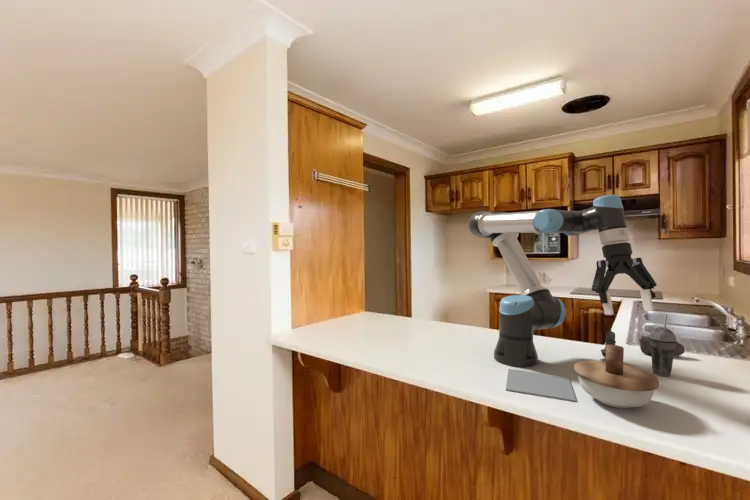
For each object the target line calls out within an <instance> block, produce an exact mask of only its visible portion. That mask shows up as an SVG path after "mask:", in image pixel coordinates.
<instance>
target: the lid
mask: <svg viewBox="0 0 750 500" xmlns="http://www.w3.org/2000/svg"><path fill="white" fill-rule="evenodd" d="M624 349H625V348H624V347H623V346H621V345H616V344H615V345H606V361H602V360H596V359H595V360H592V359H591V360H581V361H578V362H575V364H574V366H573V371H574V373H575V374H576V375H577V376H580V377H582V378H583V379H585V380H588V381H590V382H593V383H596V384H599V385H602V386H606V387H610V388H615V389H621V390H628V391H651V390H658V388H659V387H660V380H659V378H658V377H657V375H655V374H654V373H651V372H648V371H647V370H644V369H642V368H638V367H635V366H633V365H629V364H628V365H627V364H624V360H625V359H624V356H625V355H624V351H625V350H624Z"/></svg>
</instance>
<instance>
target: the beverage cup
mask: <svg viewBox="0 0 750 500" xmlns="http://www.w3.org/2000/svg"><path fill="white" fill-rule="evenodd" d="M667 320H668V314H665V315H664V321H663V322H664V323H663V327H662V326H661V327H660V326H658V327H656V328H653V329H652V330H651V331H650V333H649V335H648V337H649V341H650V345H651V354H650V355H651V367H652V374H653V375H655V376H659V377H662V378H669V377H670V378H671V375H672V370H673V363H674V357H675V356H674V349H675V347H676V343H677V342H678V341H677V337H676V335H675V333H674V331H672V330H670V329H669V328H668V327H667Z"/></svg>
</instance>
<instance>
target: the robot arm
mask: <svg viewBox="0 0 750 500" xmlns="http://www.w3.org/2000/svg"><path fill="white" fill-rule="evenodd" d="M624 209H625V208H624V206H623V203H622V199H621V197H620V196H619V195H617V194H607V195H602V196H599V197H596V198H594V199H593V200H592V206H591V207H589V208H586V209H582V210H567V209H566V210H565V209H564V210H563V209H553V208H546V209H541V210H533V211H532V210H531V211H518V212H505V211H486V210H485V211H484V210H482V211H477V212H475V213H473V214H472V215H471V216H470V218H469V220H468V227H467V228H468V229H469V231H470V233H471V234H472V235H473V236H475V237H477V238H482V239H489V241H490V242H491V244H492V246H494V247H496V248H497V249H498V250H499V252H500V255H501V256H502V258H503V261H504V262H505V265H506V268H507V269H508V270H509V272H510V275H511V276H512V279H513V280H514V283H515V285H516V287H517V289H518V291H519V293H520V294H517V295H515V294H514V295H506V296H504V297H503V298H501V300H500V301H499V307H498V311H499V313H498V314H499V315H498V316H499V317H498V318H499V327H498V329H499V330H498V333H499V334H498V336H499V337H498V340H497V343H496V346H495V348H494V350H493V359H494V360H495V361H496V362H498V363H501V364H504V365H507V366H508V365H509V366H512V367H521V368H523V367H526V368H527V367H534V366H537V365H538V364H539V355H538V352H537V350H536V347H535V343H534V331H536V330H543V329H553V328H556V327H559V326H560V325H561V324H562V323H563V322H564V320H565V317H566V314H567V313H566V312H567V311H566V306H565V303H564V302H563V301H562V300H561V299H560V298H557V297H555V296H553V295H552V293H551V291H550V289H549V288H547V287H544V286H543V285H542V283H541V281H540V279H539V277H538V276H537V274H536V272H535V270H534V268H533V266H532V264H531V262H530V261H529V259H528V256H527V255H526V253H525V250H524V249H523V247H522V245H521V243H520V241H519V240H518V237H519V234H520V233H521V234H522V233H523V234H530V233H531V234H533V233H543V234H550V233H552V234H554V233H555V234H561V233H562V234H563V235H566V236H567V237H571V236H578V235H581V234H584V233H589V232H592V231H598V235H599V240H600V244H601V245H602V247H601V250H602V251H601V252H602V255H603V258H605V259H601V260H597V261H596V269H595V274H594V277H593V282H592V286H591V291H592V292H595V293H596V294H598V296H599V301H600V303H601V304H602V308H603V313H604V315H605V316H608V315H609V316H610V315H611V316H612V315H615V312H614V307H613V302H612V297H611V292H608V290H609V288H610V286H611V285H612V282H613V281H614V278H615V277H616V276H617V275H618V274H621V275H622V274H625V275H627V276H628V277H630V279H631V280H632V281H634V282H635V283H636V284H637V285H638V286H639V287H640V288H641V289H639V292H640V297H641V303H642V308H643V311H644V312H654V311H655V309H654V305H653V304H654V302H653V298H654V297H653V292H652V290H653V289H654V288H655V287H657V286H658V285H657V282H656V281H655V279H654V278H653V276H652V275H651V273H650V271H648V270H647V268H646V266H645V265H644V262H643V259H642V257H640V256H639V257H635V258H632V254H633V248H632V244H631V243H630V242H629V241H630V236H629V231H628V227H627V221H626V217H625V211H624Z"/></svg>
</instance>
